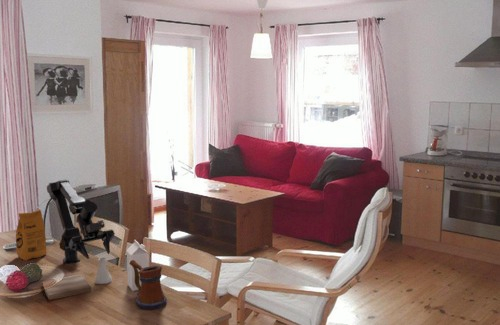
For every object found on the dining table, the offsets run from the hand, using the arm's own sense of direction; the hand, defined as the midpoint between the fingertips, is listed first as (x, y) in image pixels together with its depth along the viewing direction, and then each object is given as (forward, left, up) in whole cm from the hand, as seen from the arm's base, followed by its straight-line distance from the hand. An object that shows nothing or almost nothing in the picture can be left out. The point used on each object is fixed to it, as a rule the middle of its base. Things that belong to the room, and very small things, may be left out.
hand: (98, 255), depth 221 cm
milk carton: (+16, +12, -10) cm, 23 cm away
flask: (+3, +1, -10) cm, 11 cm away
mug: (+31, +10, -10) cm, 34 cm away
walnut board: (+3, -14, -10) cm, 18 cm away
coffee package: (-46, -20, -10) cm, 51 cm away
